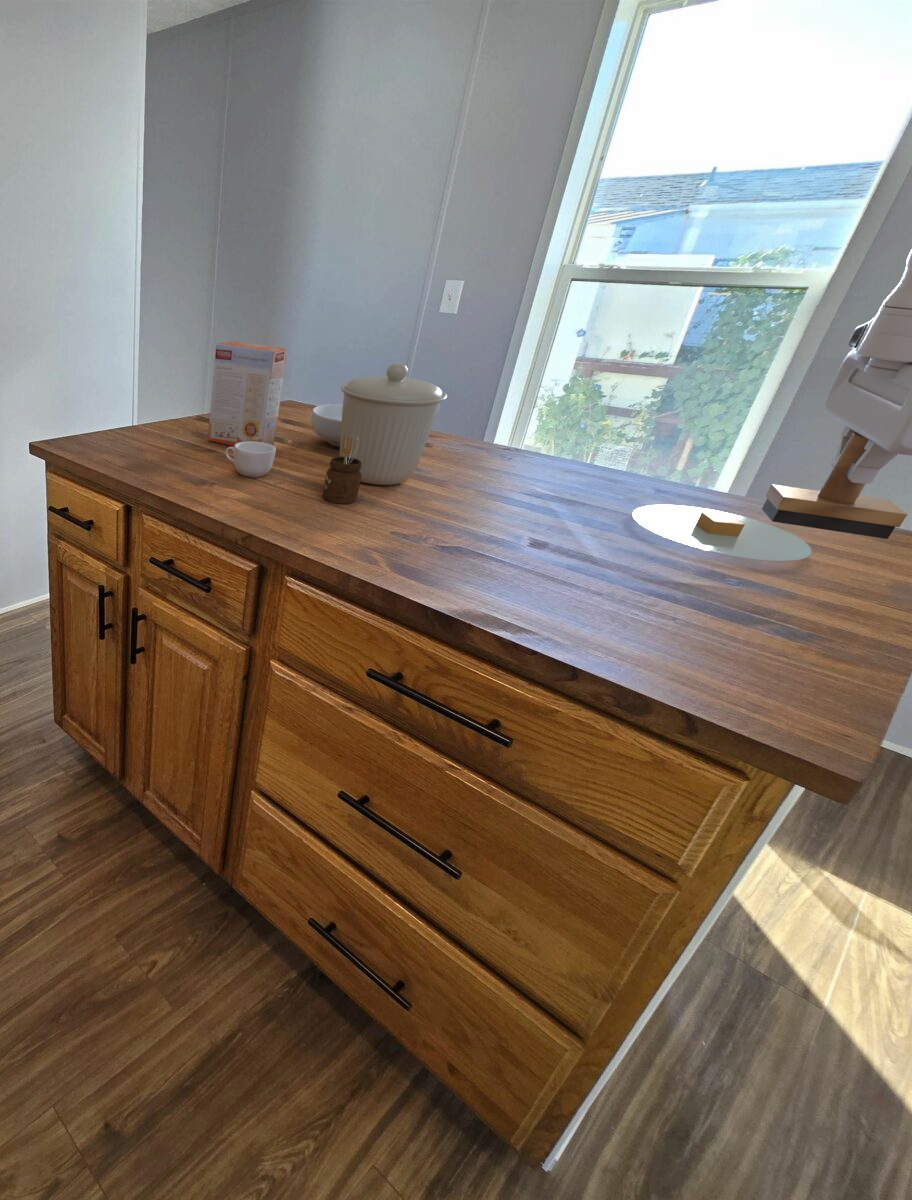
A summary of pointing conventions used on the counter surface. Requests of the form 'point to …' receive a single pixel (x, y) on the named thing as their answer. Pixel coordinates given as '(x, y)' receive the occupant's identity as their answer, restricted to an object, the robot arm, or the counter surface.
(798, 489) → the brush
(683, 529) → the disc
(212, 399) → the cracker box
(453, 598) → the counter surface
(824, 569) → the counter surface
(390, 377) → the canister
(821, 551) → the counter surface
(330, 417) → the cereal bowl
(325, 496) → the utensil holder
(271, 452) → the teacup
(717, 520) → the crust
